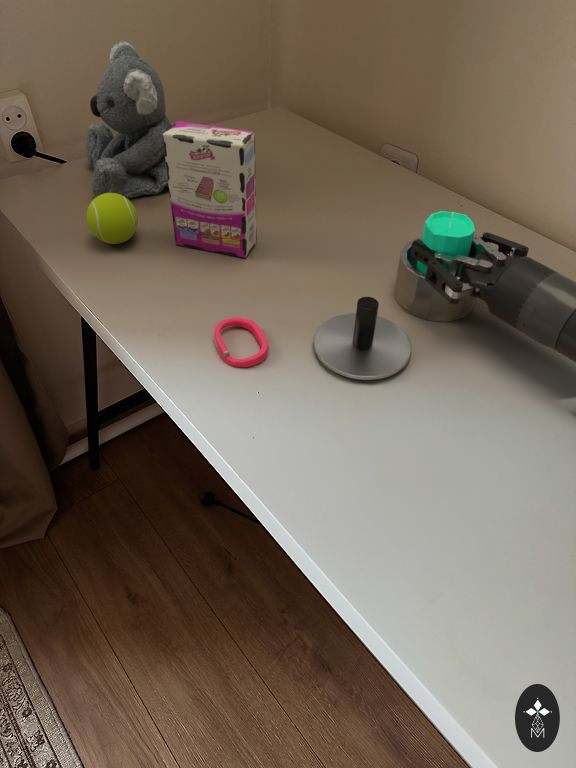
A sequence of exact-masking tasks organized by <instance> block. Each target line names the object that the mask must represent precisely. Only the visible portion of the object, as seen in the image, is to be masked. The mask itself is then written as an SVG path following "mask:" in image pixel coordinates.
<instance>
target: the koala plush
mask: <svg viewBox="0 0 576 768" xmlns="http://www.w3.org/2000/svg"><path fill="white" fill-rule="evenodd" d="M109 62H110V64H109V66H108V68H107V69H106V70H105V72H104V74H103V76H102V77H101V79H100V81H99V83H98V86H97V91H96V94H95V95H94V96H92V97H91V98H90V103H89V107H90V110H91V113H92V114H93V115H94V116H95V117H97V118H100V119H101V120H102V121H103V122H104V123H101V122H99V123H98V124H97V123H91V124H90V125H89V126H87V128H88V129H87V132H86V137H85V140H86V142H85V155H86V159H87V160H86V161H87V162H88V163H89V165H90V166H93V169H94V170H93V174H92V180H91V190H92V194H93V195H94V199H95V198H96V197H97V196H99V195H101V194H105V193H117V194H120V195H122V196H124V197H126V198H127V199H128V200H130V199H131V200H132V199H133V198H137V197H141V196H150V195H154V196H156V195H157V194H158V195H159V194H160V193H162V192H163V191H164V189H165V187H166V188H167V187H168V188H169V184H168V176H167V167H166V160H165V151H164V143H163V133H165V132H166V131H167V130H168V129H169V128H170V127H171V126H172V125H174V123H173V122H171V121H170V119H169V117H168V116H167V115H166V101H165V99H166V98H165V92H164V88H163V84H162V80H161V78H160V76H159V74H158V72H157V70H156V69H155V68H154V67H153V66H152V65H151V64H150V63H149V62H147V61H146V60H144V59H142V57H141V56H140V54H139V53H138V51H137V50H136V49H135V48H134V46H133V45H131V44H130V43H129V42H127V41H125V40H123V39H122V40H119V41H118V43H115V44H114V45H113V47H110V52H109ZM111 129H112V130H113V131H115V132H117V133H116V134H115V135H114V133H113V131H112V130H111Z"/></svg>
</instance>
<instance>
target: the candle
mask: <svg viewBox="0 0 576 768" xmlns="http://www.w3.org/2000/svg"><path fill="white" fill-rule="evenodd" d="M475 232H476V228H475V222H473V220H472V219H471V218H470V217H469V216H468V215H467V214H464V213H460V212H455V211H447V210H445V211H444V210H440V211H438V212H433V213H431V214H430V215H429V216H428V218H427V219H426V220H425V221H424V226H423V231H422V236H421V237H422V241H423V243H424V244H425V245H427V246H428V247H429V248H430V249H432V250H435V251H437V252H441V253H444V254H448V255H451V256H456V255H457V254H460V255H463V256H466V257H468V255H469V251H470V248H471V244H472V240H473V236H474V235H475ZM443 266H444V267H445V268H446V269H448V270H450V268H451V266H450V265H449V264H447V263H443ZM462 268H463V265H460V266H459V270H458V275H459V276H460V277H461V272H462ZM416 269H417V270H418V271H420V272H421V273H423V274H426V271H427V266H426V265H424V264H423V263H421V262H420V261H418V262H417V267H416ZM436 277H438V276H436Z"/></svg>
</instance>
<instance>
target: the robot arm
mask: <svg viewBox="0 0 576 768" xmlns="http://www.w3.org/2000/svg"><path fill="white" fill-rule="evenodd" d="M493 244H494V245H497V248H496V247H495V246H494V245H493ZM529 251H530V248H529V247H528V246H526V245H523V244H521V243H518V242H515V241H513V240H510V239H507V238H505V237H502V236H500V235H496V234H494V233H491V232H483V234H482V236H479V235H478V234H474V236H473V240H472V244H471V248H470V251H469V255H468V257H466V256H463V255H460V254H457V255H456V256H451V255H448V254H444V253H441V252H437V251H435V250H432V249H430V248H429V247H428V246H427V245H425V244H424V243H423V241H422V240H420V239H417V240H415V241H413V243H412V248H411V256H412V257H413V258H414V259H416V260H418V261H420V262H421V263H423V264H424V265H426V266H427V271H426V276H425V280H426V281H427V282H428V283H429V284H430V285H431V286H432V287H433V288H434V289H435V290H436V291H438V292H439V293H440V294H441V295H442V296H443V297H444V298H445V299H446V300H447V301H448V302H449V303H451V304H458V303H459V299H460V297H462V296H466V295H470V296H472V297H476V298H477V299H480V300H482V301H484V302H485V304H486V306H487V309H488V311H489V312H490V314H492V315H493V316H495V317H496V318H497V319H499V320H501V321H503V322H505V323H506V324H508V325H509V326H510V327H512V328H514V329H516V330H517V331H519V332H521V333H522V334H524V335H525V336H527V337H529V338H530V339H532V340H533V341H535V342H536V343H538V344H540V345H542V346H545V347H548V348H550V349H552V350H554V351H556V352H558V353H559V354H561V355H562V356H564V357H566V358H567V359H569V360H571V361H572V362H574V363H575V364H576V281H574V280H573V279H571V278H569V277H567V276H566V275H563V274H562V273H560V272H558V271H556V270H554V269H553V268H551V267H548V266H546V265H544V264H543V263H541V262H539V261H537V260H535V259H534V258H532V257H529V256H528V253H529ZM443 263H447V264H449V265H450V266H451V268H450V270H448V269H446V268H445V267H444V266H443ZM460 265H463V268H462V272H461V277H460V276H459V275H458V270H459V266H460ZM436 276H438V277H436Z"/></svg>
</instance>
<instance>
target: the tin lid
mask: <svg viewBox="0 0 576 768" xmlns="http://www.w3.org/2000/svg"><path fill="white" fill-rule="evenodd" d="M379 305H380V304H379V301H378V300H377V299H376V298H374V297H371V296H362V297H360V298H358V300H357V303H356V309H355V310H356V311H355V312H353V313H351V312H350V313H345V314H341V315H340V314H339V315H337V316H334V317H331V318H330V319H328V320H326V321H325V322H323V323H322V324H321V325H320V326H319V328H318V329H317V330H316V332H315V334H314V338H313V349H314V352H315V355H316V357H317V358H318V360H319V361H320V362H321V363H322V364H323V365H324V366H325V367H326V368H327V369H329V370H331V371H332V372H333V373H336V374H338V375H340V376H343V377H346V378H349V379H355V380H361V381H362V380H363V381H373V380H381V379H385V378H388V377H391V376H393V375H395V374H397V373H399V372H400V371H401V370H402V369H403V368H405V367H406V366H407V364H408V362H409V360H410V358H411V354H412V344H411V340H410V338H409V337H408V334H407V333H406V332H405V331H404V330H403V328H401V326H399V325H398V324H396V323H394V322H393V321H391V320H389V319H387V318H384V317H382V316H379V315H378V311H379Z"/></svg>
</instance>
